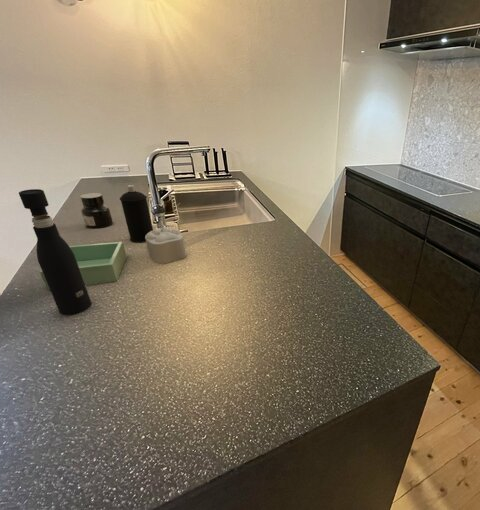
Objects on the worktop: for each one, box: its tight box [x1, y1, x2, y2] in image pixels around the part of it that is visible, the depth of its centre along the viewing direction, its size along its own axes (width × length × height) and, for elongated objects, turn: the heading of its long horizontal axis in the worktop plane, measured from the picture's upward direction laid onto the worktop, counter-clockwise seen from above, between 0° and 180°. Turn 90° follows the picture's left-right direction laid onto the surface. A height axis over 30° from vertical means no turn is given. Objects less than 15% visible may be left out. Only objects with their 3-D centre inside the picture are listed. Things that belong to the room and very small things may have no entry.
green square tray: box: [39, 241, 128, 291], centre depth 91 cm, size 16×16×6 cm
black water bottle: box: [18, 188, 92, 316], centre depth 71 cm, size 6×6×30 cm
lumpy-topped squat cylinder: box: [145, 226, 187, 265], centre depth 104 cm, size 10×13×9 cm
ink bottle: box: [79, 192, 114, 229], centre depth 121 cm, size 10×9×12 cm
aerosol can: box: [119, 184, 154, 243], centre depth 111 cm, size 8×8×20 cm
